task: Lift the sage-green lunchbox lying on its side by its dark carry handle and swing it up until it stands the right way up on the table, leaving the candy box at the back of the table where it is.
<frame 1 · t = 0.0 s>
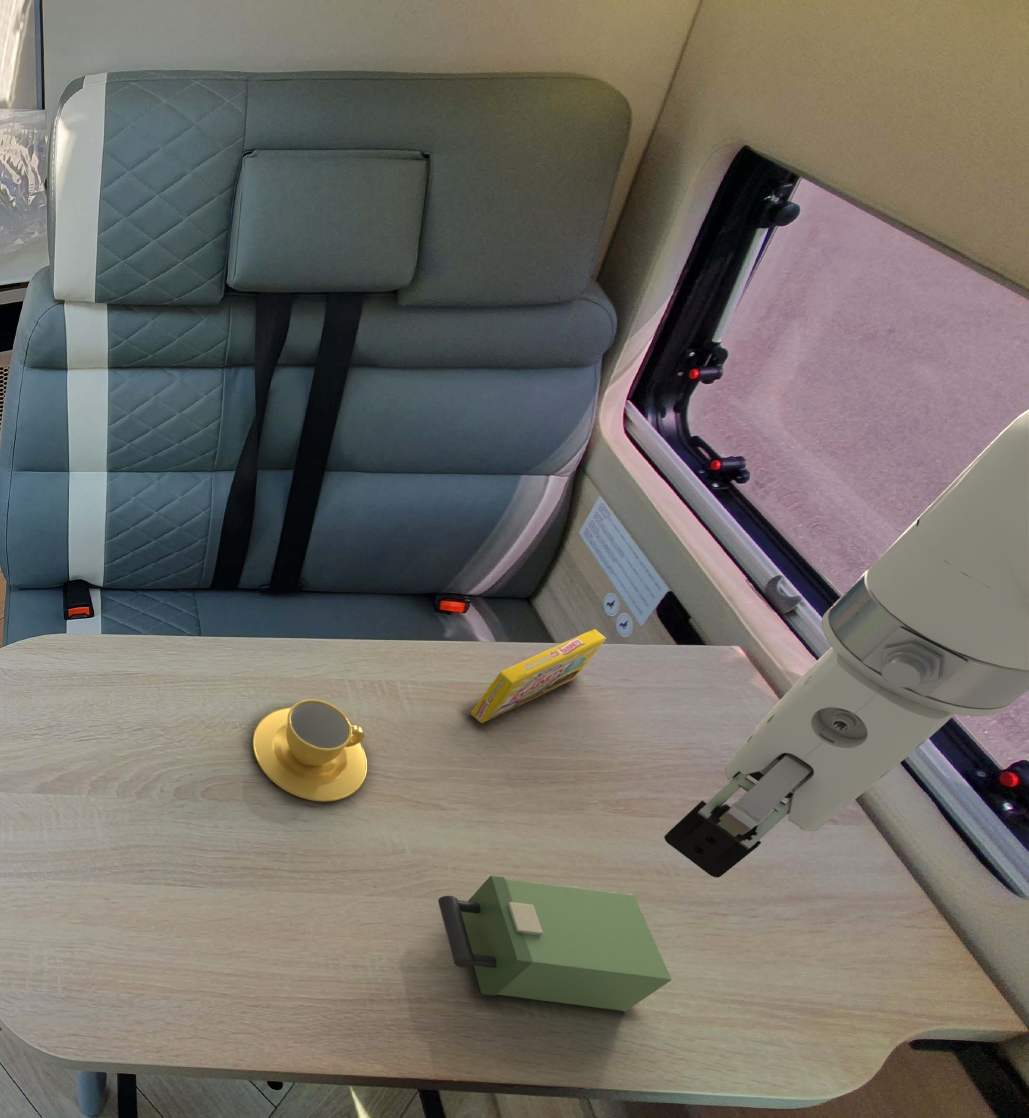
hand: (728, 817, 51), 28 cm above the table, tool pointing down, fingers open, 9 cm apart
cup: (307, 755, 87), on the table
candy box: (522, 698, 93), on the table
lunchbox: (538, 940, 69), point 4 cm above the table, hinge at -89.0°
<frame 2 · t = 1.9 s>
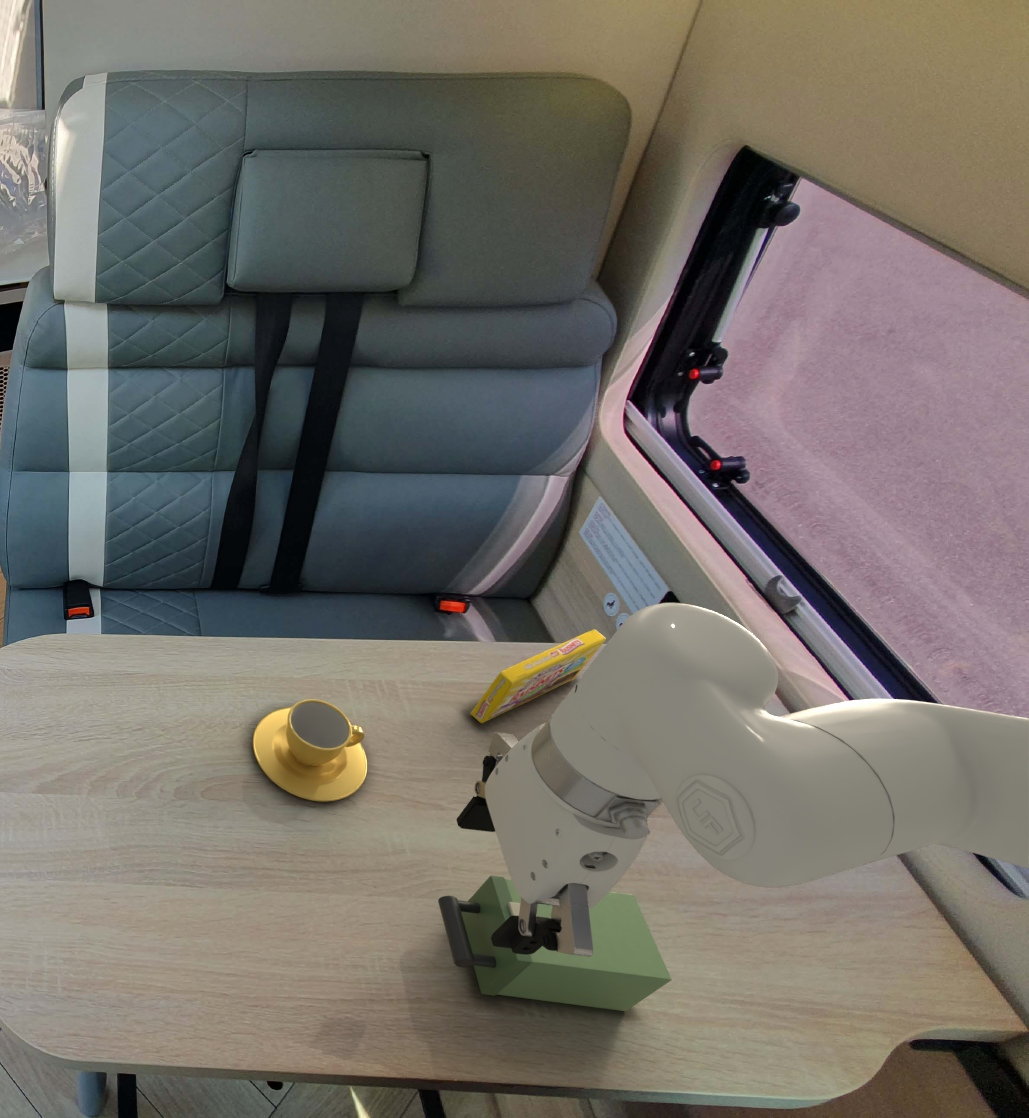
hand: (492, 882, 64), 12 cm above the table, tool pointing down, fingers open, 9 cm apart
nothing on the table moved.
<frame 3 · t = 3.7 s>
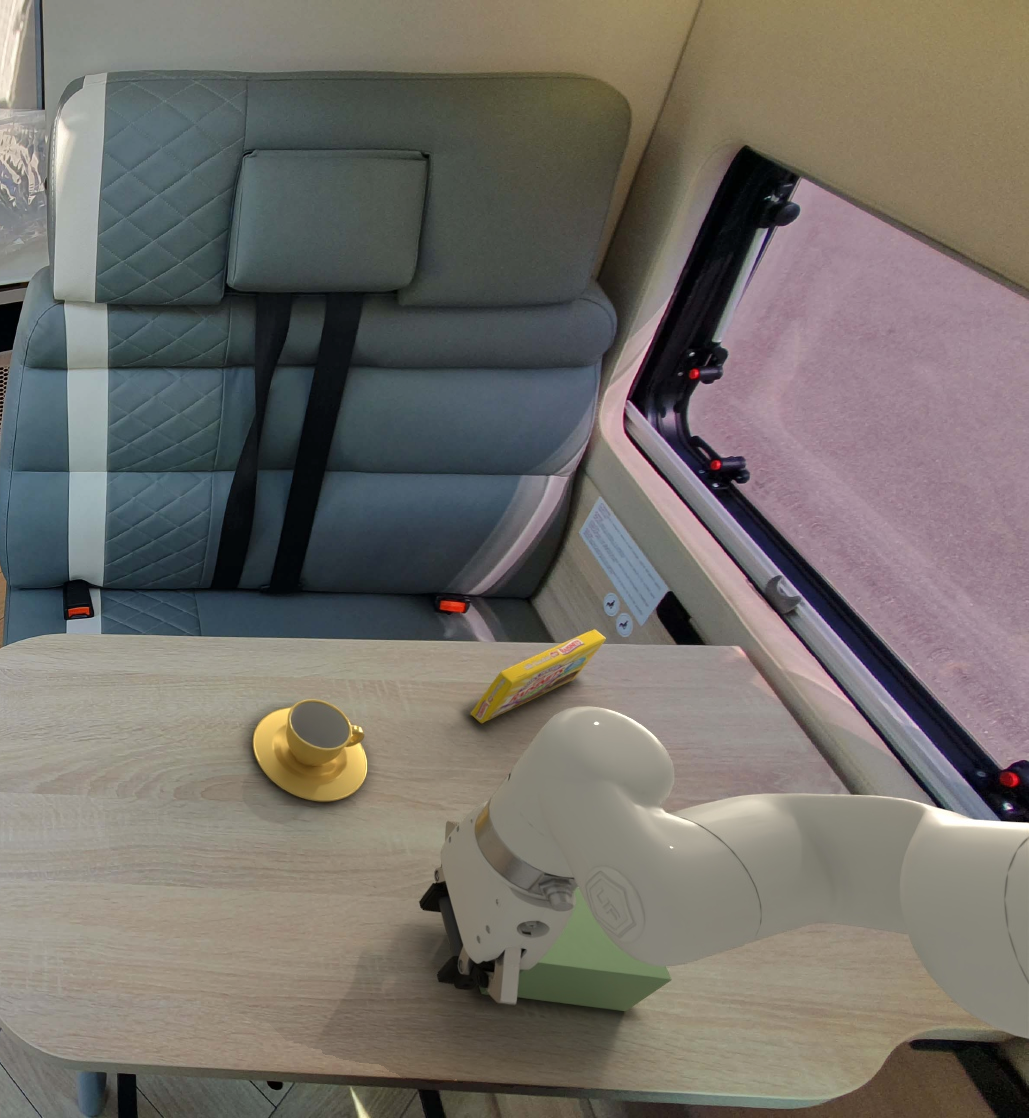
hand: (446, 942, 71), 1 cm above the table, tool pointing down, fingers closed on lunchbox, 5 cm apart
lunchbox: (538, 940, 69), point 4 cm above the table, hinge at -89.0°, touching gripper
everything else where it was.
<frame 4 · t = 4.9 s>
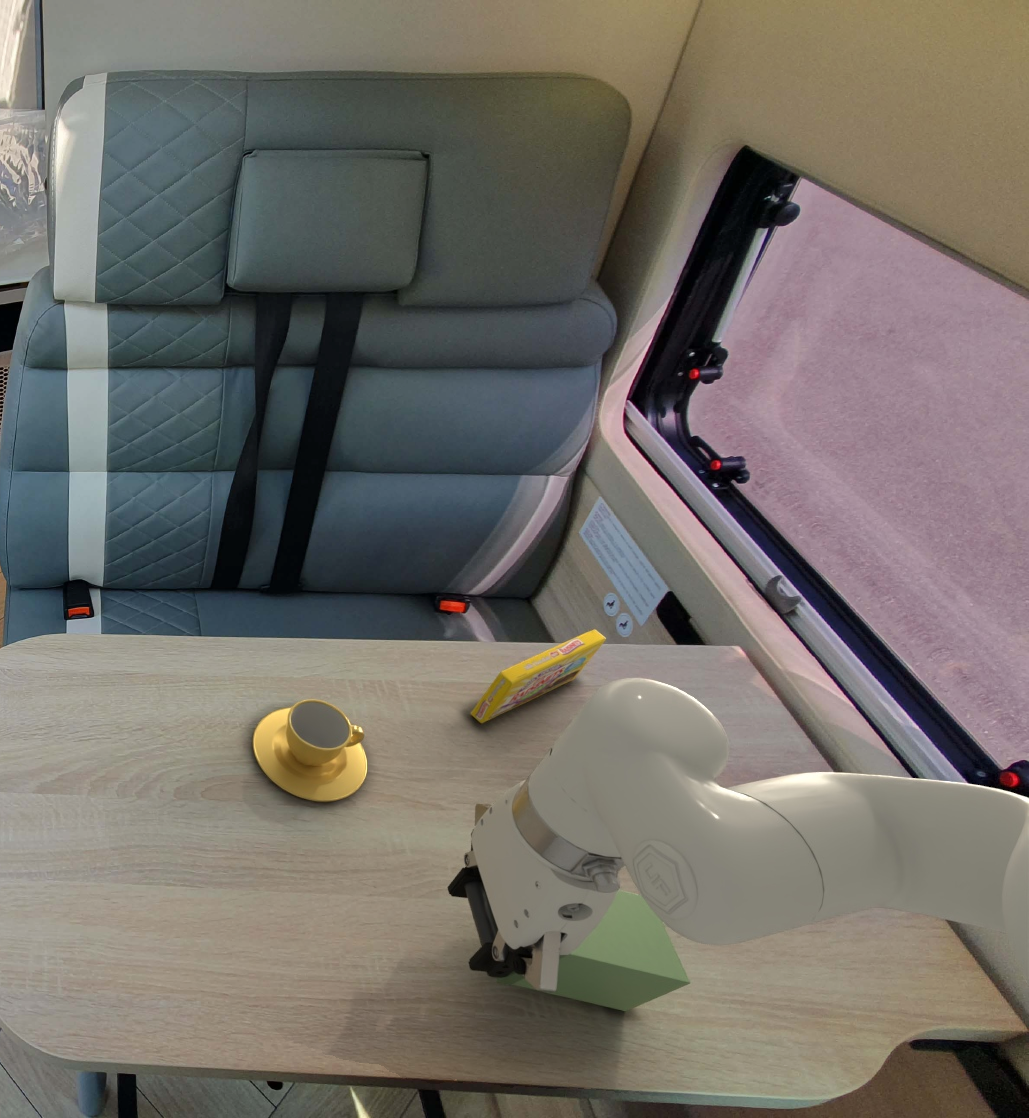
hand: (476, 928, 69), 4 cm above the table, tool pointing down, fingers closed on lunchbox, 5 cm apart
lunchbox: (558, 933, 68), point 5 cm above the table, hinge at -76.4°, touching gripper
everything else where it was.
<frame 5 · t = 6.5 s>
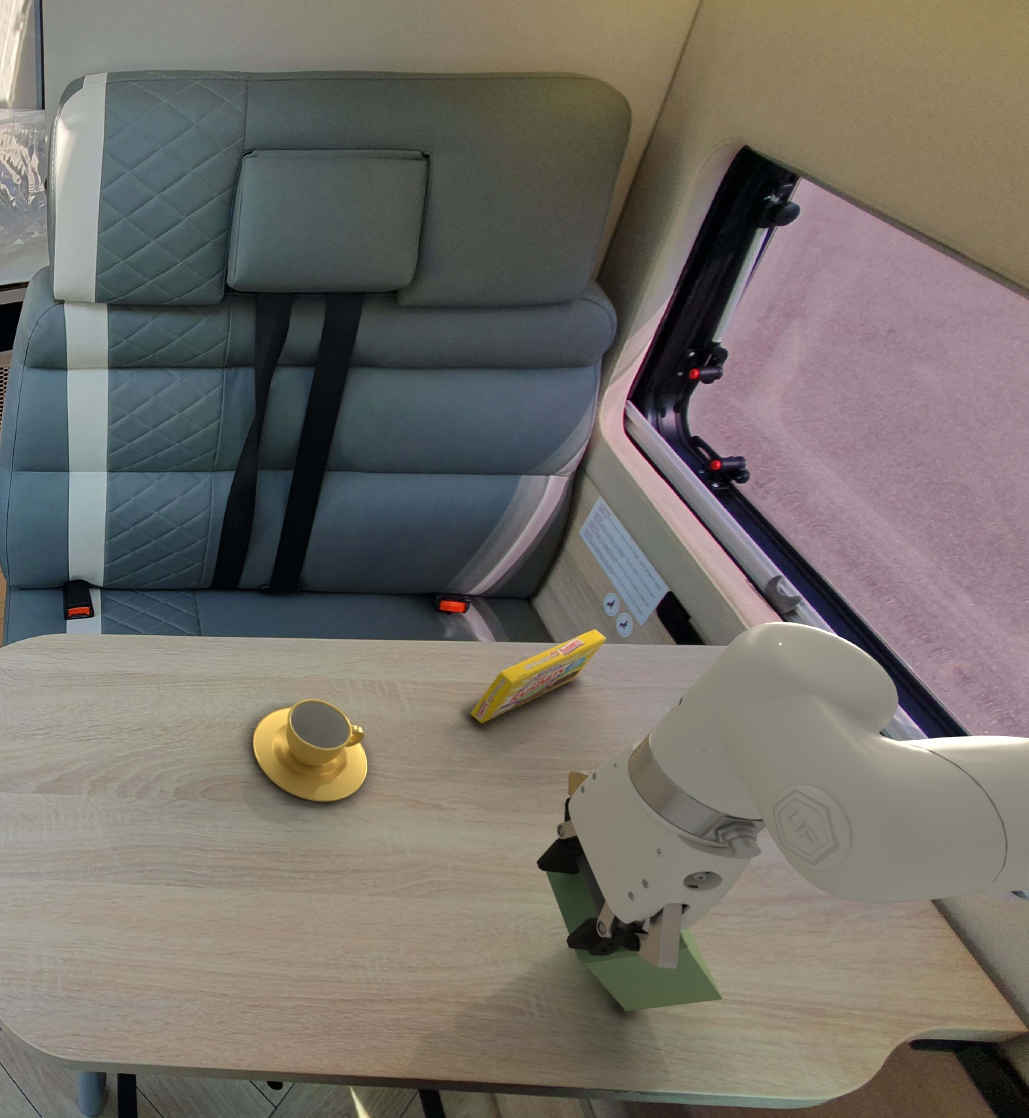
hand: (571, 904, 64), 10 cm above the table, tool pointing down, fingers closed on lunchbox, 5 cm apart
lunchbox: (628, 925, 66), point 8 cm above the table, hinge at -41.2°, touching gripper
everything else where it was.
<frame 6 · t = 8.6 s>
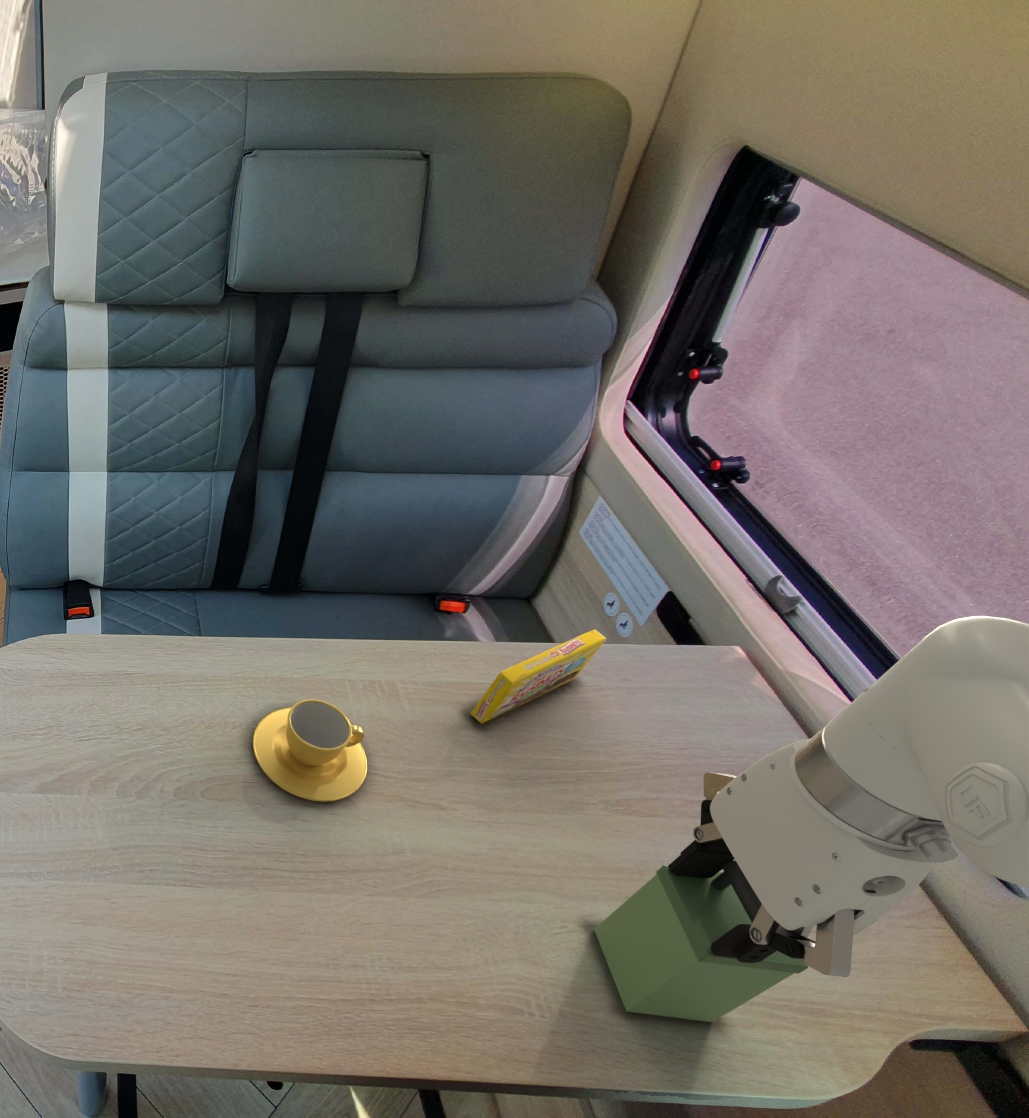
hand: (710, 910, 63), 12 cm above the table, tool pointing down, fingers closed on lunchbox, 5 cm apart
lunchbox: (702, 937, 66), point 8 cm above the table, hinge at 0.3°, touching gripper
everything else where it was.
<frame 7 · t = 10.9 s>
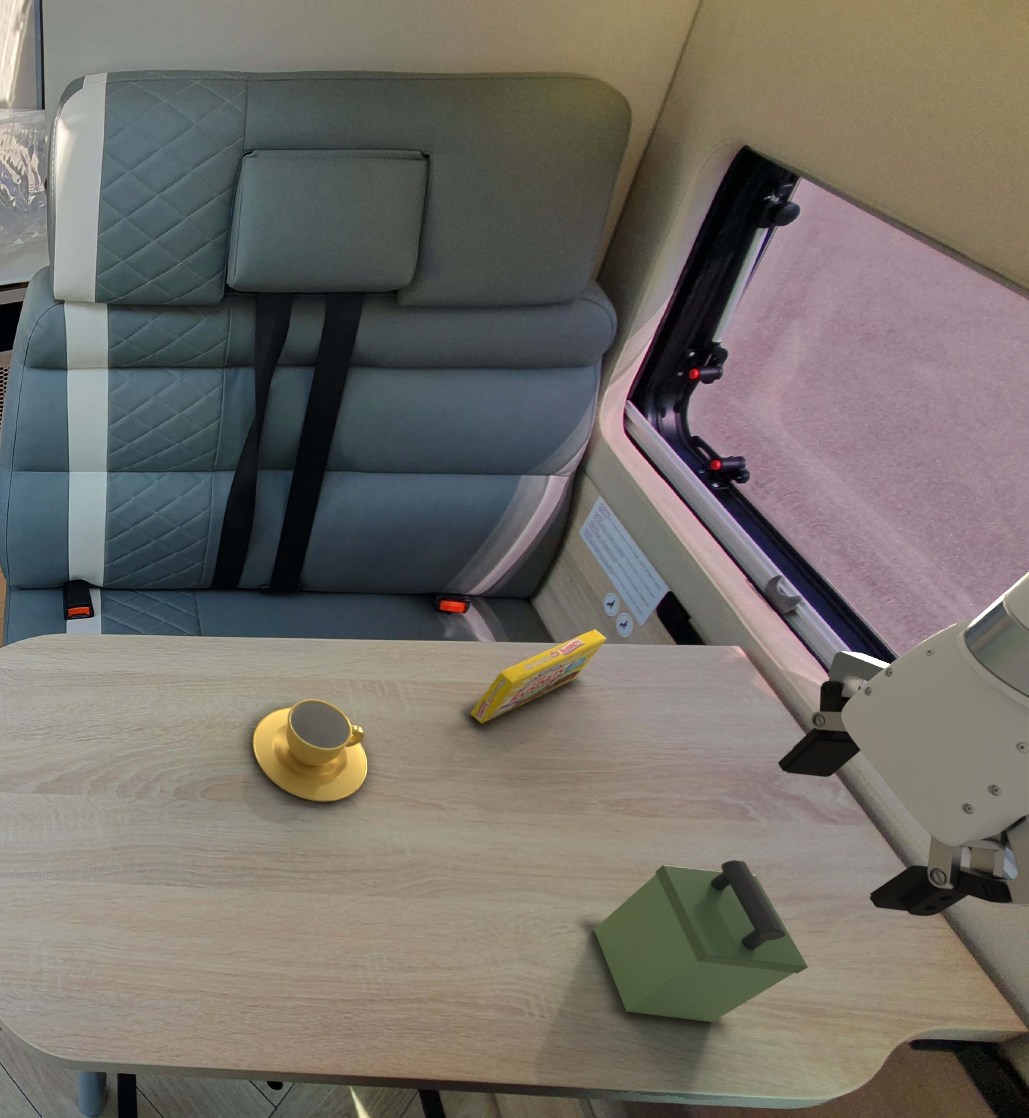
hand: (846, 833, 53), 26 cm above the table, tool pointing down, fingers open, 9 cm apart
lunchbox: (702, 937, 66), point 8 cm above the table, hinge at 0.0°
everything else where it was.
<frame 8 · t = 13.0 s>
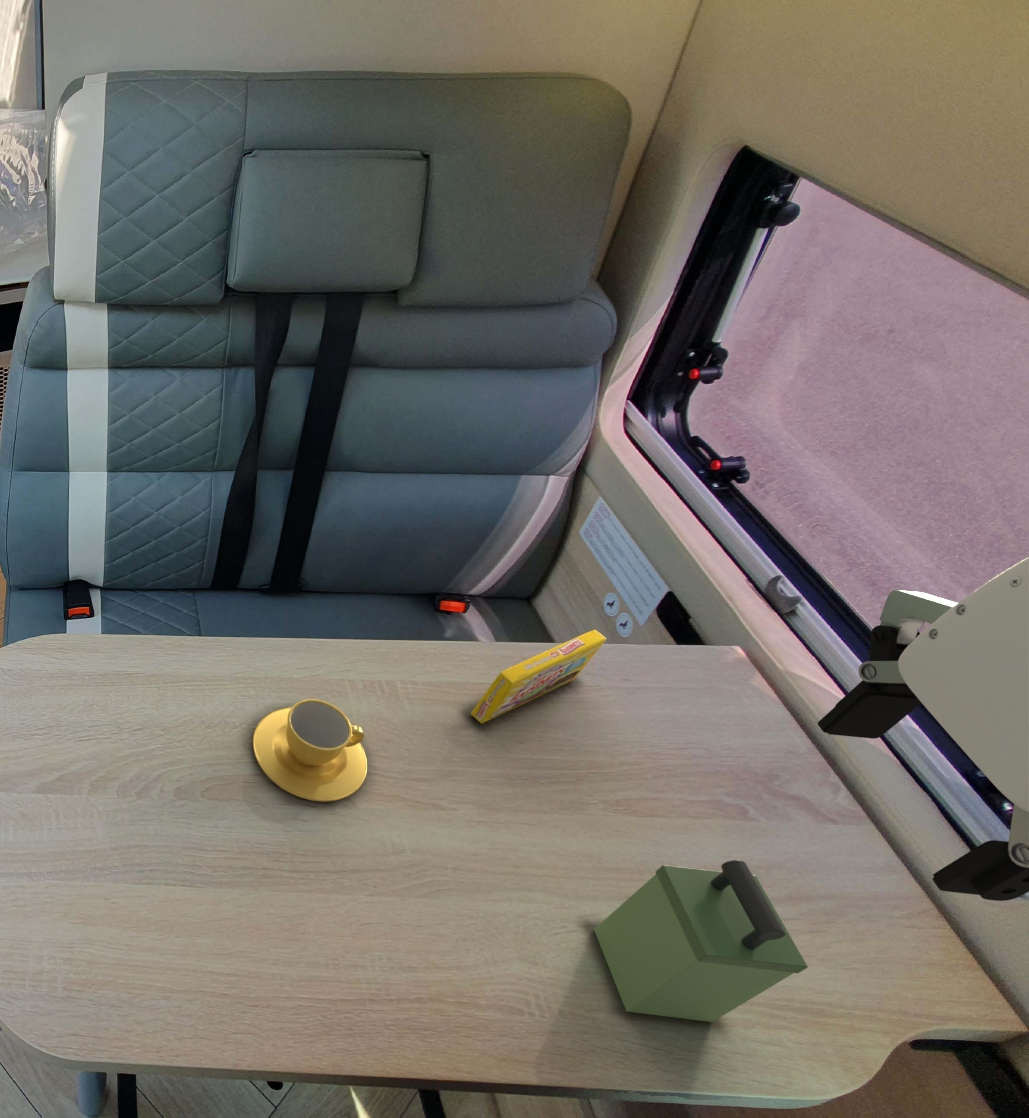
hand: (900, 803, 45), 34 cm above the table, tool pointing down, fingers open, 9 cm apart
nothing on the table moved.
at the end: lunchbox at +0° (first picture: -89°); candy box moved 0.2 cm from its start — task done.
